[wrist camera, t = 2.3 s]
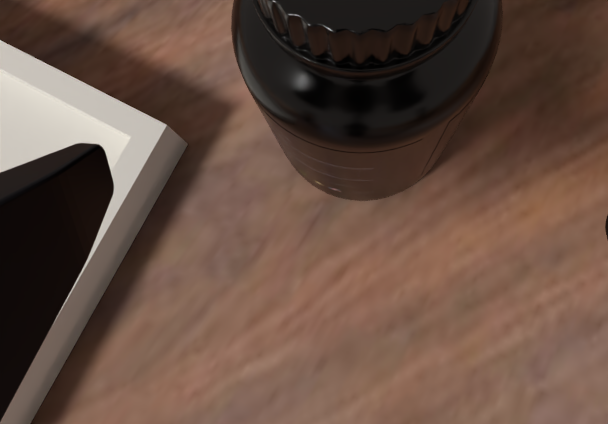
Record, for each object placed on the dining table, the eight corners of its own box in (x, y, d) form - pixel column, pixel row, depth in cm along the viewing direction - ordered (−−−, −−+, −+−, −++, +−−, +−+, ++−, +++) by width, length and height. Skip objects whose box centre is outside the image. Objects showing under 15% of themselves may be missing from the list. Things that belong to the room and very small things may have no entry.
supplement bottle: (325, 18, 22) (293, -302, 10) (475, 85, 21) (633, -185, 9) (248, 159, 21) (117, -7, 10) (398, 235, 20) (462, 154, 8)
